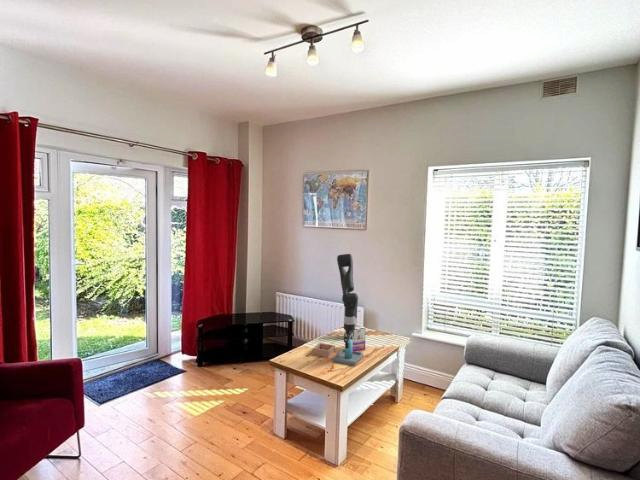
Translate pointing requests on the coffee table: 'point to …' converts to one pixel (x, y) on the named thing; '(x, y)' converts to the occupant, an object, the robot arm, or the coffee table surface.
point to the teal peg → (349, 350)
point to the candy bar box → (359, 339)
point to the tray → (353, 361)
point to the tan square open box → (324, 350)
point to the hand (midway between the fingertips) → (348, 346)
